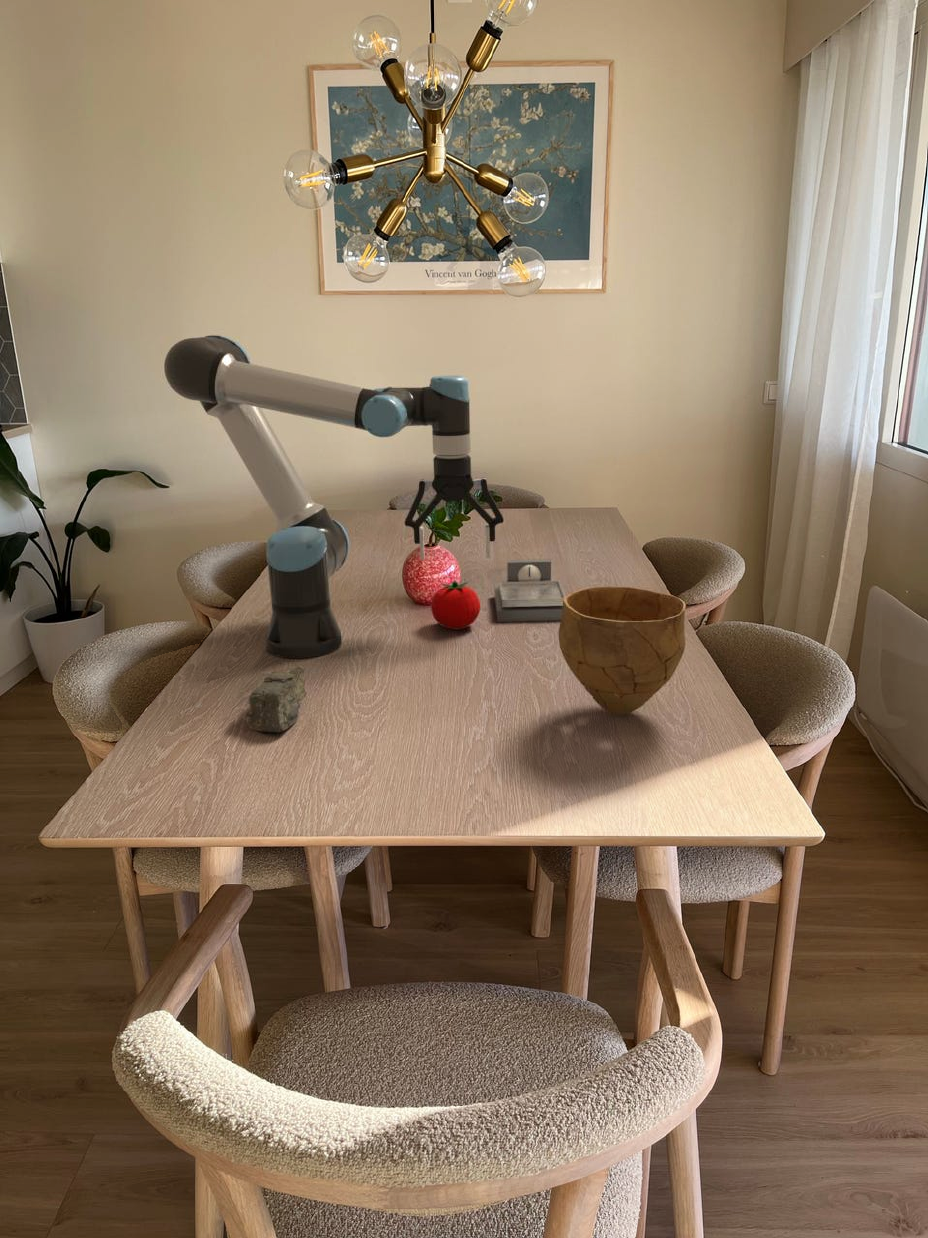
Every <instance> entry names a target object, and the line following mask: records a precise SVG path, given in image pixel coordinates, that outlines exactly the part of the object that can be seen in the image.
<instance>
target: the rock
mask: <svg viewBox="0 0 928 1238" xmlns="http://www.w3.org/2000/svg"><path fill="white" fill-rule="evenodd" d="M305 683H306V676H305V670H304V667H302V666H301V665H299V666H296V667H294V668H293V669H291V670H283V671H280V672H279V671H278V672H276V671H274V672H271V673H270V674H268V675H267V676H265V677H264V680H263V682H262V683H260V684H259V686H258V687H256V688H255V689H254V690H253V691H251V693H250V694H249V698H248V705H249V715H247V717H246V722H247V723H248V725H249V727H250V728H251V729H252V730H254V731H257V732H264V733H265V732H266V733H267V732H268V733H282V732H283V731H287V729H289V728H290V727H292V726H293V725H294V724H295V723H296V722H298V721H297V720H298V717H299V712H300V711H299V710H300V707H301V705H300V702H301V701H302V700H304V698H306V696H307V692H306V689H305Z"/></svg>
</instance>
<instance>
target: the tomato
mask: <svg viewBox="0 0 928 1238" xmlns="http://www.w3.org/2000/svg"><path fill="white" fill-rule="evenodd" d="M468 583H469V581H467V582H464V583H461V584H458V582H457V581H456V580H455V579H454V580H452V582H451V584H446V583H441V582H440V585H442V586H444V587H441V588H439V589H438V590H437V591H436V592H435V594H434V595H433V596H432V600H431V603H430V609H431V613H432V616H433V618H434V620H435V621H436V622H437V623H439V624H440V625H442V627H444V628H448V629H452V630H459V629H464V628H467V627H469V626H470V625H472V624H473V623H474V622H475V621H476V620H477V618H478V616H479V615H480V611H481V601H480V599H479V596H478V595H477V593H476V591H475V590H473V588H469V587H467V586H465V585H467V584H468Z"/></svg>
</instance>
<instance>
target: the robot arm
mask: <svg viewBox="0 0 928 1238" xmlns="http://www.w3.org/2000/svg"><path fill="white" fill-rule="evenodd" d="M250 360H251V359H250V358H249V355H248V353H247V351H246V350H245V348H243V347H242V345H241V344H239V342H237V341H235V340H234V339H231V338H230V337H226V336H221V335H219V334H218V335H217V334H216V335H215V334H214V335H213V334H212V335H211V334H210V335H205V336H203V337H202V336H201V337H190V338H185V339H182V340H179V341H178V342H176V343H175V344H174V345H172V347H171V348H170V349H169V350H168V352H167V354H166V356H165V359H164V365H163V367H164V375H165V378H166V381H167V383H168V385H169V387H171V389H172V390H173V391H174V392H175V393H176V394H178V395H179V396H181V397H183V398H185V399H188V400H190V401H196V402H199V403H200V404H201V406H202V408H203V409H204V411H205V413H206V414H207V415H208V416H210V417H214V418H216V419H218V421H219V422H220V424H221V426H222V427H223V429H224V431H225V432H226V435H227V436H228V438H229V439H230V442H231V443H232V445H233V446H234V449H236V451H237V453H238V455H239V457H240V458H241V461H243V462H242V463H244V466H245V467H246V469H247V471H248V472H249V474H250V476H251V478H252V479H253V481H254V483H255V485H256V486H257V488H258V490H259V492H260V493H261V495H262V497H263V498H264V500H265V502H266V504H267V505H268V507H269V509H270V511H271V512H272V514H273V516H274V518H275V519H276V521H277V524H276V527H275V532H274V533H272V534H271V536H270V537H268V539H267V542H266V555H265V558H266V561H267V569H268V572H267V573H268V581H269V588H270V589H269V590H270V591H269V592H270V601H271V616H270V618H269V619H270V620H269V625H268V627H267V632H266V638H265V641H266V650H267V651H268V652H269V653H270V654H271V655H274V656H276V657H277V656H278V657H280V658H281V657H282V658H288V659H289V658H292V659H301V658H303V659H304V658H312V657H319V656H323V655H326V654H329V653H332V652H334V651H335V650H337V649H338V648H340V647H341V645H342V644H343V643H342V632H341V629H340V627H339V624H338V622H337V619H336V617H335V614H334V611H333V610H332V606H331V595H330V594H331V593H330V580H329V579H330V578H331V577H332V576H333V575H334V574H335V573H337V572H338V571H339V570H340V569H341V568H342V567H343V565H344V564H345V562H346V561H347V558H348V556H349V553H350V547H351V546H350V544H351V543H350V538H349V535H348V532H347V531H346V529H345V527H344V526H343V525H342V524H341V523H340V522H339V521H338V520H336V519H333V518H332V517H331V516H330V514H329V511H327V509H326V507H325V505H324V504H321V503H317V502H314V500H313V498H312V496H311V495H310V493H309V492H308V489H307V488H306V486H305V484H304V482H303V480H302V478H301V477H300V475H299V474H298V471H297V470H296V469H295V466H294V465H293V463H292V461H291V459H290V457H289V456H288V454H287V453H286V450H285V449H284V447H283V445H282V443H281V441H280V440H279V438H278V436H277V434H276V433H275V431H274V429H273V428H272V426H271V424H270V422H269V420H268V419H267V417H266V415H265V413H264V411H263V410H262V409H266V410H270V411H274V412H279V413H285V414H288V415H289V414H290V415H294V416H298V417H304V418H308V419H312V420H316V421H322V422H327V423H330V424H331V423H332V424H336V425H341V426H345V427H350V428H354V429H358V430H361V431H362V430H363V431H367V432H368V433H369V434H371V435H373V436H374V437H378V438H389V437H393V436H395V435H396V434H398V433H400V432H401V431H402V430H403V429H404V428H406V427H416V426H417V427H420V426H425V427H427V426H431V429H432V433H431V434H432V453H433V455H435V456H434V457H433V461H432V462H433V479H432V480H425V479H424V478H421V479H420V480H419V481H418V491H417V493H416V496H415V498H414V500H413V502H412V504H411V507H410V508H409V511H408V513H407V515H406V518H405V519H404V526H405V527H410V528H412V529H413V540H414V544H415V545H419V555H420V561H425V559H426V556H425V535H424V534H425V533H424V526H422V525H423V524H424V522H425V521H426V520H427V519H428V517H429V516H430V514H431V513H432V512H433V511H434V509H435V508H436V507H437V506H438V505H439V504H440V503H441V501H444V502H445V503H451V502H457V503H461V502H462V501H464V500H465V501H466V502H467V503H468V504H469V505H470V506H471V507H472V508H473V509H474V510H475V511H476V512H477V513H478V514H479V516H480V517H481V518H482V519H483V520H484V521H485V522H486V523H487V524H485V526H484V527H485V529H484V530H485V558H486V559H491V544H490V543H491V542H495V540H496V526H497V525H499V524H502V523H504V517H503V514H502V513H501V511H500V509H499V507H498V505H497V503H496V501H495V500H494V498H493V496H492V494H491V492H490V490H489V488H488V484H487V483H488V481H487V478H486V477H485V476H482V477H480V478H477V479H473V477H472V462H471V461H472V458H471V456H470V455H469V454H470V453H471V428H470V427H471V424H470V421H471V420H470V414H471V413H470V402H471V401H470V396H469V395H470V394H469V383H468V382H469V381H468V379H467V378H466V377H465V376H462V375H437V376H433V377H431V379H429V380H430V383H429V386H423V387H392V386H387V387H380V388H379V387H378V388H374V389H369V388H364V387H360V386H355V385H351V384H345V383H342V382H336V381H332V380H327V379H323V378H318V377H314V376H310V375H309V376H308V375H304V374H299V373H295V372H290V371H285V370H281V369H277V368H272V367H267V366H262V365H257V364H253V363H251V361H250ZM474 486H475V487H477V489H478V490H480V491H481V492H482V494H483V497H484V499H485V500H486V502H487V504H488V506H489V507H490V510H491V511H492V513H493V515H494V516H495V517H492V516H491V515H490V514H489V512H488V511H487V510H486V509H485V508H484V507H483V506H482V505H481V503H480V502H479V501H478V500H477V498H475V497H474V496H473V494H472V493H471V491H472V489H473V488H474ZM430 488H432V489H433V490H434V492H435V495H434V497H433V498H432V499H431V500H430V502H429V503H428V504H427V505H426V507H425V508H424V509H423V511H422V512H421V513H420V514H419V515H418V517H417V519H416V520H414V517H415V515H416V513H417V511H418V508H419V506H420V505H421V502H422V500H423V497H424V495H425V492H428V491H429V489H430Z"/></svg>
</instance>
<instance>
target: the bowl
mask: <svg viewBox="0 0 928 1238" xmlns="http://www.w3.org/2000/svg"><path fill="white" fill-rule="evenodd" d="M686 607H687V605H686V602H685V601H684V600H683V599H681V598H679V597H678V596H675V595H672V594H668V593H663V592H662V593H661V592H657V591H653V590H648V589H644V588H637V587H631V586H593V587H587V588H581V589H577V590H575V591H573V592H570V593H568V594H567V593H566V596H565V598H563V609H562V618H561V620H560V623H559V628H558V643H559V644H558V645H559V649H560V650H561V653H562V657H563V659H564V660H565V662H566V664H567V666H568V667H569V669H570V671H571V673H572V674H573V675H574V676H575V678H576V679H577V680H578V681H579V682H580V684H581V685H582V686H583V687H584V689H585V690H586V691H587V693H588V694H589V695H590V696H592V699H593V700H594V701H595V702H596V703H597V704H598V705H599V706H600V708H602V709H604V710H606V711H607V712H608V713H610V714H612V715H613V716H614V715H615V716H619V717H620V716H621V717H623V716H627V715H629V714H631V713H633V712H635V711H636V710H638V709H640V708H641V707H642V706H645V705H646V703H647V702H648V701H649V700H650V699H651V698H652V697H653V696H654V695H655V694H657V692H659V691H660V690H661V688H662V687H663V686H665V685H666V684H667V683H668V682H669V681H670V680H671V679H672V677H673V675H674V673H675V672H676V670H677V667H678V666H679V663H680V661H681V659H682V658H683V655H684V652H685V648H686V632H685V619H686Z"/></svg>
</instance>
